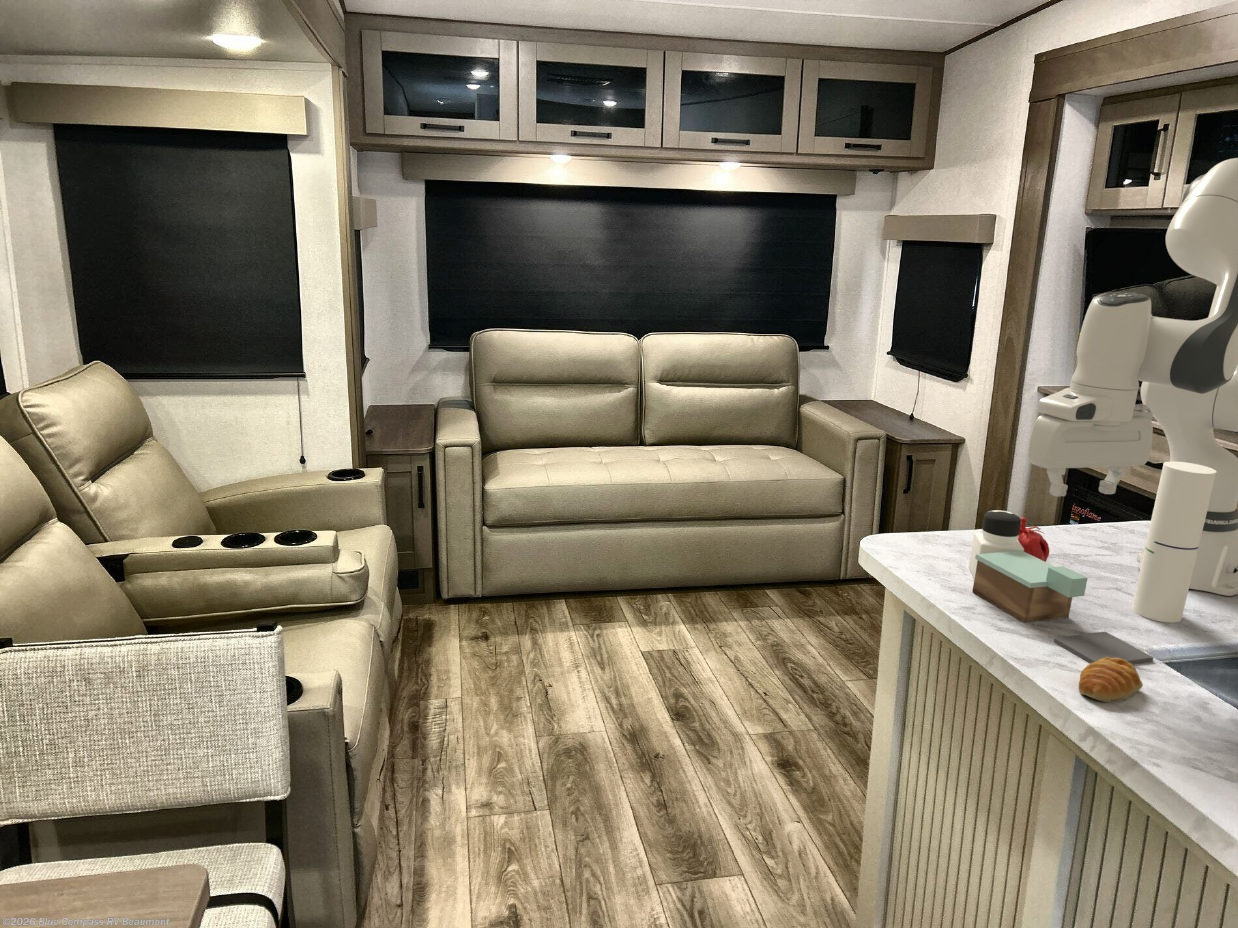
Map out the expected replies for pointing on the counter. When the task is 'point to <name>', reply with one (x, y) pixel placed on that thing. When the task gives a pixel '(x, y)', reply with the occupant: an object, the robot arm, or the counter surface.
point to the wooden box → (1019, 596)
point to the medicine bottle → (996, 536)
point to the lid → (1036, 572)
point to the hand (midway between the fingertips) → (1082, 494)
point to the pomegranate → (1033, 541)
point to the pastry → (1109, 680)
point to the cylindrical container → (1173, 540)
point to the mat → (1102, 647)
